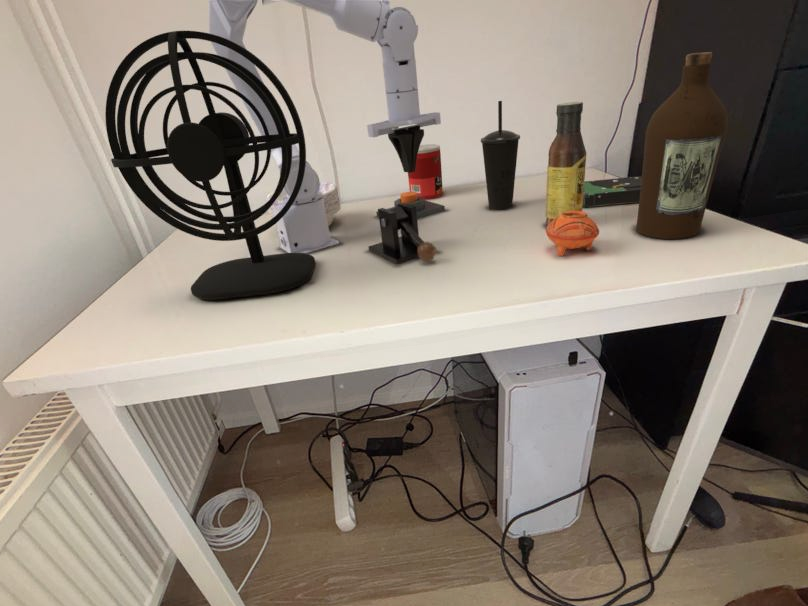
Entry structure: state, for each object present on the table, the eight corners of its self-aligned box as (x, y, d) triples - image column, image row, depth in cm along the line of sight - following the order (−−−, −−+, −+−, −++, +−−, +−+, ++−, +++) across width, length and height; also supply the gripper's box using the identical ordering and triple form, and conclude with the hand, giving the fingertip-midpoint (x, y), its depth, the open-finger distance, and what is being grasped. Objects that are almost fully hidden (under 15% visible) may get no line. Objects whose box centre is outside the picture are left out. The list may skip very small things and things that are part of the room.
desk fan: (154, 315, 74) (39, 44, 56) (192, 272, 89) (111, 47, 71) (328, 295, 73) (270, 13, 55) (337, 254, 88) (294, 22, 70)
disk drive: (642, 189, 103) (570, 195, 104) (644, 175, 101) (571, 181, 103) (662, 201, 94) (583, 208, 95) (664, 186, 93) (584, 193, 94)
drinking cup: (475, 207, 104) (472, 103, 94) (504, 200, 107) (505, 97, 96) (495, 214, 98) (494, 104, 88) (526, 206, 101) (529, 98, 90)
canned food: (443, 198, 114) (440, 148, 108) (410, 201, 115) (405, 152, 109) (442, 190, 120) (439, 142, 115) (410, 193, 121) (405, 146, 115)
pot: (531, 248, 80) (541, 205, 77) (571, 249, 82) (582, 208, 79) (560, 261, 73) (571, 215, 70) (602, 262, 75) (615, 218, 72)
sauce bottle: (582, 229, 85) (593, 103, 75) (545, 231, 87) (551, 107, 76) (578, 218, 91) (588, 99, 80) (544, 220, 92) (549, 103, 81)
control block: (397, 225, 100) (396, 210, 98) (376, 217, 107) (374, 203, 105) (445, 211, 105) (444, 197, 103) (422, 204, 111) (420, 191, 110)
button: (406, 205, 102) (405, 197, 101) (398, 202, 105) (397, 194, 104) (420, 201, 104) (420, 193, 103) (411, 198, 106) (411, 190, 105)
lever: (437, 261, 80) (440, 247, 77) (422, 266, 79) (425, 252, 76) (400, 218, 85) (402, 204, 83) (385, 222, 84) (387, 208, 82)
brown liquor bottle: (625, 222, 86) (647, 57, 73) (691, 218, 84) (726, 48, 71) (641, 243, 77) (669, 59, 64) (714, 239, 75) (760, 48, 62)
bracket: (436, 252, 84) (433, 207, 80) (397, 265, 81) (391, 219, 76) (405, 240, 91) (401, 197, 87) (368, 251, 88) (362, 208, 84)
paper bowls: (260, 239, 102) (249, 201, 98) (295, 217, 114) (287, 182, 110) (324, 239, 97) (316, 199, 93) (354, 216, 109) (348, 180, 105)
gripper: (376, 97, 80) (387, 182, 87) (448, 85, 85) (452, 166, 93) (357, 97, 85) (369, 177, 92) (426, 85, 91) (431, 162, 98)
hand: (409, 171), depth 93 cm, fingers closed
